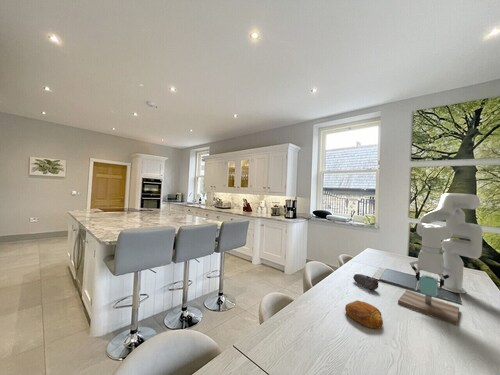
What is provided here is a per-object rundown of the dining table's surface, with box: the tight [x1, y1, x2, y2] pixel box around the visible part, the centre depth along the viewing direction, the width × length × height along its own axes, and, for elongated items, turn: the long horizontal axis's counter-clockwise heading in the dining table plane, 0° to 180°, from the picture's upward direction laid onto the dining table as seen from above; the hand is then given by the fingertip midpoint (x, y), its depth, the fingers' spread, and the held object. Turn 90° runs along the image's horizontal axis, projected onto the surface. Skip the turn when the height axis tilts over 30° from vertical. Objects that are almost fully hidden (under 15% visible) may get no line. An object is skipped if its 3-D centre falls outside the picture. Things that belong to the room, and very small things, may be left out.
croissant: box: [344, 300, 384, 330], centre depth 96 cm, size 14×16×8 cm
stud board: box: [397, 289, 460, 326], centre depth 109 cm, size 18×22×11 cm
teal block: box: [419, 273, 439, 298], centre depth 109 cm, size 6×6×8 cm
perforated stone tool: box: [353, 273, 379, 291], centre depth 130 cm, size 15×5×7 cm, turn 27°
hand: (429, 283), depth 109 cm, fingers open, 8 cm apart
